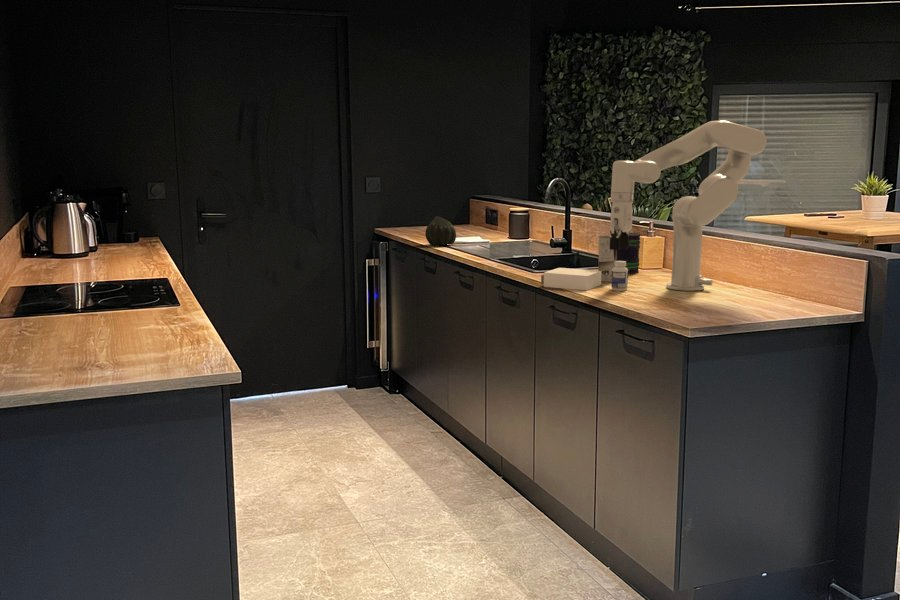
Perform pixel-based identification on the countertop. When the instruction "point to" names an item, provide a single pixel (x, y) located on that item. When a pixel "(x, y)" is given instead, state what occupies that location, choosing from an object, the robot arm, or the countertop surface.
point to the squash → (440, 232)
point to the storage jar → (630, 253)
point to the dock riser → (571, 278)
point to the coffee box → (606, 258)
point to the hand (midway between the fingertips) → (618, 248)
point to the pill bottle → (619, 276)
